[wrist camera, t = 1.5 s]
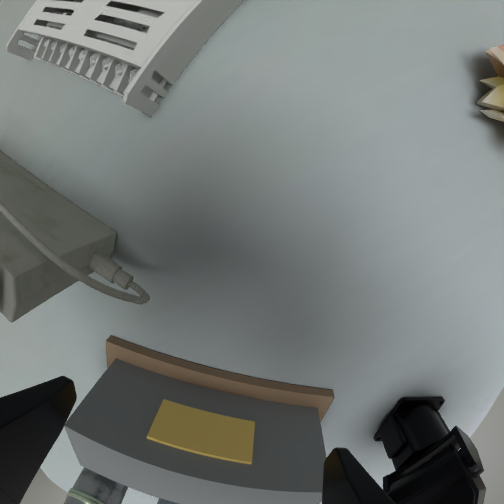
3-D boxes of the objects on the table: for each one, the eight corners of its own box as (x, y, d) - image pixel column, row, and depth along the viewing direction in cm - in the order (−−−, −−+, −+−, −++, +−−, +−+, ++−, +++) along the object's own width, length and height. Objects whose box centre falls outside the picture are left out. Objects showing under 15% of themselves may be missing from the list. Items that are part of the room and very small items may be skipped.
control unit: (332, 389, 22) (355, 481, 12) (299, 447, 24) (304, 524, 14) (111, 335, 22) (47, 404, 12) (115, 401, 24) (74, 467, 14)
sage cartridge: (143, 441, 25) (106, 524, 13) (144, 462, 27) (115, 535, 14) (100, 423, 25) (55, 497, 13) (105, 446, 27) (69, 513, 14)
